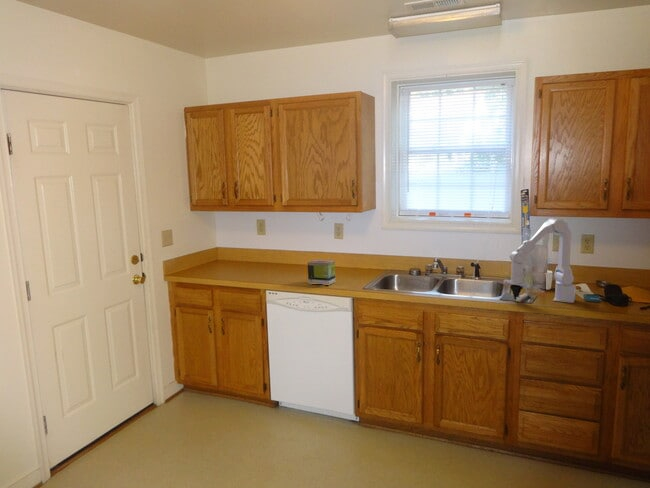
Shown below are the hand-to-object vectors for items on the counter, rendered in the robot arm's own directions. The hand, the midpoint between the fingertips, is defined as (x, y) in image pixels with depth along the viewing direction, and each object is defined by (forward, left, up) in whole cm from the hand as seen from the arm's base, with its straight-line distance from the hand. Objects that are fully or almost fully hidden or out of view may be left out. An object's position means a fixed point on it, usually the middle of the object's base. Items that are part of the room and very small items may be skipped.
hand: (516, 298), depth 251 cm
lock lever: (-3, -4, -1) cm, 5 cm away
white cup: (-9, -35, -2) cm, 36 cm away
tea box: (+116, +11, -2) cm, 117 cm away
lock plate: (0, -7, -1) cm, 7 cm away
